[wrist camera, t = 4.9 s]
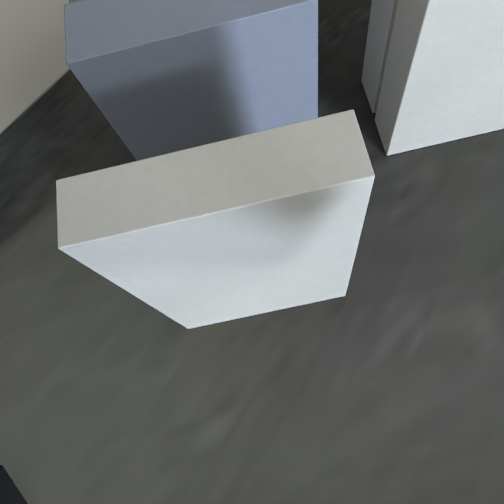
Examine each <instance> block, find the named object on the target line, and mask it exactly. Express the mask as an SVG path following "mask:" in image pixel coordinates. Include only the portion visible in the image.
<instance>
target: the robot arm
mask: <svg viewBox="0 0 504 504" xmlns="http://www.w3.org/2000/svg"><path fill="white" fill-rule="evenodd" d="M0 504H27V502H26V501H25V499H24V498H23V496H22V495H21V493H20V492H19V490H18V489H17V487H16V485H15V484H14V482H13V481H12V479H11V478H10V476H9V475H8V473H7V472H6V470H5V469H4V467H3V466H2V465H0Z"/></svg>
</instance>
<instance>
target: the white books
mask: <svg viewBox="0 0 504 504" xmlns="http://www.w3.org/2000/svg"><path fill="white" fill-rule="evenodd" d="M361 81H362V84H363V87H364V90H365V93H366V96H367V99H368V102H369V105H370V108H371V111H372V113H376V115H375V123H376V126H377V129H378V132H379V135H380V138H381V141H382V144H383V146H384V149H385V152H386V155H387V156H388V155H392V154H396V153H401V152H405V151H409V150H414V149H418V148H422V147H427V146H431V145H435V144H440V143H444V142H448V141H453V140H457V139H461V138H466V137H470V136H474V135H479V134H483V133H487V132H492V131H496V130H500V129H504V0H372V4H371V11H370V19H369V26H368V34H367V41H366V49H365V56H364V64H363V71H362V79H361Z"/></svg>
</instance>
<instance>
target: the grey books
mask: <svg viewBox="0 0 504 504" xmlns="http://www.w3.org/2000/svg"><path fill="white" fill-rule="evenodd" d="M64 16H65V17H64V18H65V40H66V63H67V65H68V67H69V68H70V69H71V71H72V72H73V73H74V75H75V76H76V78H77V79H78V80H79V82H80V83H81V84H82V86H83V87H84V89H85V90H86V91H87V93H88V94H89V95H90V97H91V98H92V100H93V101H94V102H95V104H96V105H97V106H98V108H99V109H100V111H101V112H102V113H103V115H104V116H105V117H106V119H107V120H108V122H109V123H110V124H111V126H112V127H113V128H114V130H115V131H116V133H117V134H118V135H119V137H120V138H121V139H122V141H123V142H124V144H125V145H126V146H127V148H128V149H129V150H130V152H131V153H132V155H133V156H134V157H135V159H136V160H137V161H139V160H143V159H147V158H151V157H156V156H160V155H164V154H168V153H172V152H177V151H181V150H185V149H189V148H193V147H197V146H202V145H206V144H210V143H214V142H218V141H223V140H227V139H231V138H235V137H239V136H243V135H248V134H252V133H256V132H260V131H264V130H269V129H273V128H277V127H281V126H285V125H290V124H294V123H298V122H302V121H306V120H310V119H315V118H318V0H69V4H66V5H64Z"/></svg>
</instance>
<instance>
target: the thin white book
mask: <svg viewBox="0 0 504 504" xmlns="http://www.w3.org/2000/svg"><path fill="white" fill-rule="evenodd" d="M374 177H375V175H374V171H373V168H372V165H371V162H370V159H369V156H368V153H367V150H366V146H365V143H364V140H363V137H362V134H361V131H360V128H359V125H358V121H357V118H356V115H355V112H354V110H348V111H344V112H340V113H336V114H331V115H327V116H323V117H319V118H315V119H310V120H306V121H302V122H298V123H294V124H290V125H285V126H281V127H277V128H273V129H269V130H264V131H260V132H256V133H252V134H248V135H243V136H239V137H235V138H231V139H227V140H223V141H218V142H214V143H210V144H206V145H202V146H197V147H193V148H189V149H185V150H181V151H177V152H172V153H168V154H164V155H160V156H156V157H151V158H147V159H143V160H139V161H135V162H130V163H126V164H122V165H118V166H114V167H110V168H105V169H101V170H97V171H93V172H89V173H84V174H80V175H76V176H72V177H68V178H63V179H59V180H56V196H57V230H58V248H59V249H60V250H61V251H63V252H65V253H66V254H68V255H69V256H71V257H73V258H74V259H76V260H78V261H79V262H81V263H82V264H84V265H86V266H87V267H89V268H90V269H92V270H94V271H95V272H97V273H99V274H100V275H102V276H103V277H105V278H107V279H108V280H110V281H111V282H113V283H115V284H116V285H118V286H120V287H121V288H123V289H124V290H126V291H128V292H129V293H131V294H132V295H134V296H136V297H137V298H139V299H141V300H142V301H144V302H145V303H147V304H149V305H150V306H152V307H153V308H155V309H157V310H158V311H160V312H162V313H163V314H165V315H166V316H168V317H170V318H171V319H173V320H174V321H176V322H178V323H179V324H181V325H183V326H184V327H186V328H187V329H190V328H195V327H200V326H204V325H209V324H214V323H219V322H223V321H228V320H233V319H237V318H242V317H247V316H252V315H256V314H261V313H266V312H271V311H275V310H280V309H285V308H290V307H294V306H299V305H304V304H309V303H313V302H318V301H323V300H328V299H332V298H337V297H342V296H345V295H346V291H347V287H348V283H349V279H350V275H351V271H352V267H353V263H354V259H355V255H356V250H357V246H358V242H359V238H360V234H361V230H362V226H363V222H364V218H365V214H366V210H367V206H368V202H369V198H370V194H371V190H372V186H373V182H374Z"/></svg>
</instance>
